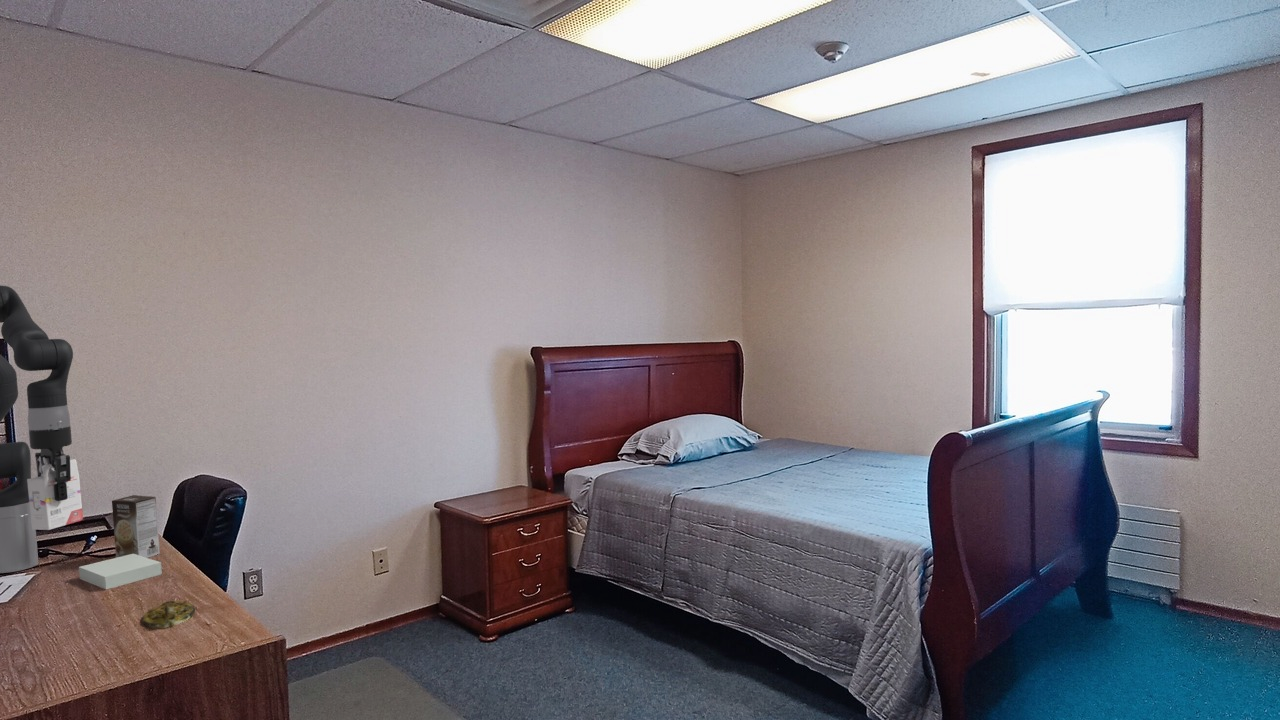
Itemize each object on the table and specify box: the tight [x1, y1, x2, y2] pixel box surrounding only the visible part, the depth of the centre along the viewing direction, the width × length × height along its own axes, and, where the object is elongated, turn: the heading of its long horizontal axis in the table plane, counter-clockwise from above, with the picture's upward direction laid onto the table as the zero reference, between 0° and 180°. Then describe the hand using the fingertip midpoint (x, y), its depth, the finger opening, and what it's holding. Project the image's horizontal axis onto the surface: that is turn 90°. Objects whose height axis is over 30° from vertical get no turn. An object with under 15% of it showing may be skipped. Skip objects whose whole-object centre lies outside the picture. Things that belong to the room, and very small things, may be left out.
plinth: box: [78, 554, 163, 590], centre depth 184 cm, size 16×12×3 cm
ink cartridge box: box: [27, 458, 84, 531], centre depth 170 cm, size 9×5×15 cm, turn 168°
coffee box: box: [111, 494, 160, 559], centre depth 201 cm, size 9×6×16 cm
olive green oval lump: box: [142, 600, 196, 629], centre depth 156 cm, size 9×5×15 cm
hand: (55, 498), depth 171 cm, fingers closed on ink cartridge box, 6 cm apart
